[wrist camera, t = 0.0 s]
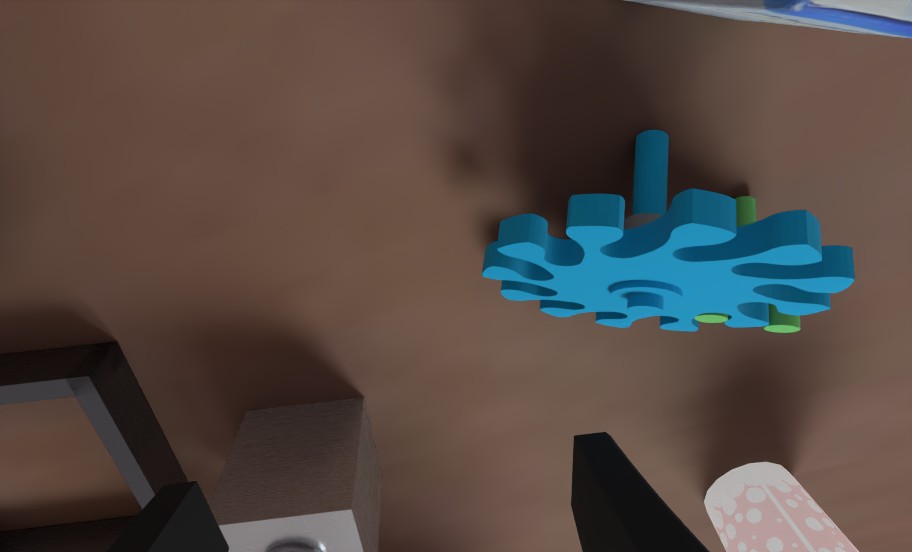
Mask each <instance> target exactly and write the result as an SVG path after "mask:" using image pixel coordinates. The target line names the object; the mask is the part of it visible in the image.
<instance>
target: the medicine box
mask: <svg viewBox="0 0 912 552" xmlns="http://www.w3.org/2000/svg"><path fill="white" fill-rule="evenodd" d="M624 1H631V2H637V3H643V4H649V5H655V6H660V7H666V8H672V9H677V10H683V11H689V12H694V13H700V14H706V15H712V16H718V17H724V18H730V19H736V20H745V21H758V22H769V23H778V24H787V25H796V26H805V27H814V28H822V29H831V30H838V31H845V32H853V33H865V34H876V35H885V36H895V37H904V38H912V0H624Z"/></svg>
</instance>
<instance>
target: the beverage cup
mask: <svg viewBox="0 0 912 552" xmlns="http://www.w3.org/2000/svg"><path fill="white" fill-rule="evenodd" d="M704 504H705V507H706V510H707V512H708V514H709V516H710V519H711V521H712V523H713V525H714V527H715V529H716V531H717V533H718V535H719V537H720V539H721V541H722V543H723V545H724V547H725V549H726V551H727V552H859V551H858V550H857V549H856V548H855V547H854V545H853V544H852V543H851V542H850V541H849V540H848V539H847V537H846V536H845V535H844V534H843V533H842V532H841V531H840V529H839V528H838V527H837V526H836V525H835V524H834V523H833V521H832V520H831V519H830V518H829V517H828V516H827V515H826V514H825V512H824V511H823V510H822V509H821V508H820V507H819V506H818V504H817V503H816V502H815V501H814V500H813V499H812V498H811V496H810V495H809V494H808V493H807V492H806V491H805V490H804V488H803V487H802V486H801V485H800V484H799V483H798V482H797V481H796V479H795V478H794V477H793V476H792V475H791V474H790V473H789V472H788V471H787V470H786V469H785V468H784V467H782V466H781V465H778V464H774V463H770V462H760V463H749V464H746V465H744V466H741V467H738V468H735V469H732V470H731V471H729V472H727V473H726V474H724V475H723V476H721V477H720V478H718V479H717V480H716V481H715V482H714V483H713V485H712V486H711V487H710V488H709V489H708V491H707V493H706V497H705V500H704Z"/></svg>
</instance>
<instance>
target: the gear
mask: <svg viewBox="0 0 912 552" xmlns="http://www.w3.org/2000/svg"><path fill="white" fill-rule="evenodd" d="M668 145H669V137H668V134H667V133H665V132H664V131H661V130H647V131H644V132H642V133H640V134H639V135H638V136H637V137H636V147H635V166H634V185H633V205H632V216H629V217H627V218H625V219H624V211H625V200H624V198H623V197H622V196H621V195H614V194H581V195H572V196H571V197H570V198H569V203H568V214H567V225H566V234H567V235H568V236H569V237H570V238H571V239H559V238H555V237H552V236H550V235H549V234H548V233H547V230H548V222H547V220H545V219H544V218H543V217H541V216H539V215H536V214H532V213H530V214H522V215H517V216H514V217H510V218H508V219H505V220H503V221H500V229H499V236H498V241H495V242H492V243H491V244H489V245H488V247H487V248H486V251H485V256H484V263H483V270H482V276H484V277H487V278H491V279H496V280H502V286H501V294H502V295H503V296H504V297H505V298H506V299H510V300H518V301H525V300H540V310H541V311H543V312H545V313H548V314H550V315H553V316H556V317H569V316H572V315H575V314H579V313H585V312H596V323H599V324H603V325H608V326H613V327H620V328H624V327H629V326H631V323H632V322H633V321H635V320H637V319H641V318H645V317H651V316H660V328H662V329H667V330H677V331H697V330H698V328H699V321H700V322H707V323H720V322H724V324H725V325H727V326H730V327H759V326H764V330H766V331H770V332H778V333H789V332H796V331H799V330H800V315H807V314H812V313H817V312H821V311H824V310H828V309H831V305H830V293H836V292H840V291H842V290H844V289H846V288H848V287H849V286H850V285H851V284H852V283H853V281H854V280H855V275H854V263H853V251H852V247H847V246H832V245H831V246H821V233H820V223H819V221H818V219H817V218H816V217H815V216H814V215H812V214H811V213H809V212H808V211H807V210H793V211H786V212H781V213H777V214H774V215H771V216H769V217H767V218H765V219H763V220H760V221H757V222H756V199H755V198H754V197H750V196H741V197H737V198H735V199H733V198H731V197H729V196H726V195H723V194H719V193H715V192H711V191H705V190H699V189H694V188H692V189H688V190H685V191H683V192H680V193H678V194H677V195H676V196H674V198H673V199H672V203H671V206H670V208H669V210H668V211H667V178H668ZM666 211H667V212H666Z"/></svg>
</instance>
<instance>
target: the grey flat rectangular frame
mask: <svg viewBox="0 0 912 552" xmlns="http://www.w3.org/2000/svg"><path fill="white" fill-rule="evenodd" d="M73 396H76V398H77V400H78V401H79V403H80V405H81V407H82V408H83V410H84V412H85V413H86V415H87V417H88V418H89V420H90V422H91V423H92V425H93V427H94V428H95V430H96V432H97V434H98V435H99V437H100V439H101V440H102V442H103V444H104V445H105V447H106V449H107V450H108V452H109V454H110V455H111V457H112V459H113V461H114V462H115V464H116V466H117V467H118V469H119V471H120V472H121V474H122V476H123V477H124V479H125V481H126V483H127V484H128V486H129V488H130V489H131V491H132V493H133V494H134V496H135V498H136V499H137V501H138V503H139V504H140V506H141V508H142V509H143V508H144V507H145V506H146V505H147V504H148V503H149V501H150V500H151V499H152V498H153V497H154V496H155V495H156V494H157V492H158V491H159V490H160V489H161V488H162V487H163V486H164V485H168V484H176V483H184V482H187V480H186V478H185V476H184V474H183V472H182V470H181V468H180V466H179V464H178V462H177V460H176V458H175V456H174V454H173V452H172V450H171V448H170V446H169V444H168V442H167V440H166V438H165V436H164V434H163V432H162V430H161V428H160V426H159V424H158V422H157V420H156V418H155V416H154V414H153V412H152V410H151V408H150V406H149V404H148V402H147V400H146V398H145V396H144V394H143V392H142V390H141V388H140V386H139V385H138V383H137V381H136V379H135V377H134V375H133V373H132V371H131V369H130V367H129V365H128V363H127V361H126V359H125V357H124V355H123V353H122V351H121V349H120V347H119V345H118V343H117V342H110V343H101V344H92V345H83V346H74V347H65V348H57V349H48V350H39V351H30V352H21V353H12V354H3V355H0V405H4V404H12V403H21V402H30V401H38V400H47V399H56V398H64V397H73ZM135 517H136V516H132V517H124V518H116V519H107V520H99V521H91V522H83V523H74V524H66V525H58V526H50V527H41V528H33V529H25V530H17V531H9V532H0V552H106V551H107V550H108V549H109V547H110V546H111V545H112V544H113V543H114V542H115V540H116V539H117V538H118V537H119V536H120V535H121V534H122V532H123V531H124V530H125V529H126V528H127V527H128V526H129V524H130V523H131V522H132V521H133V520H134V519H135Z"/></svg>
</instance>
